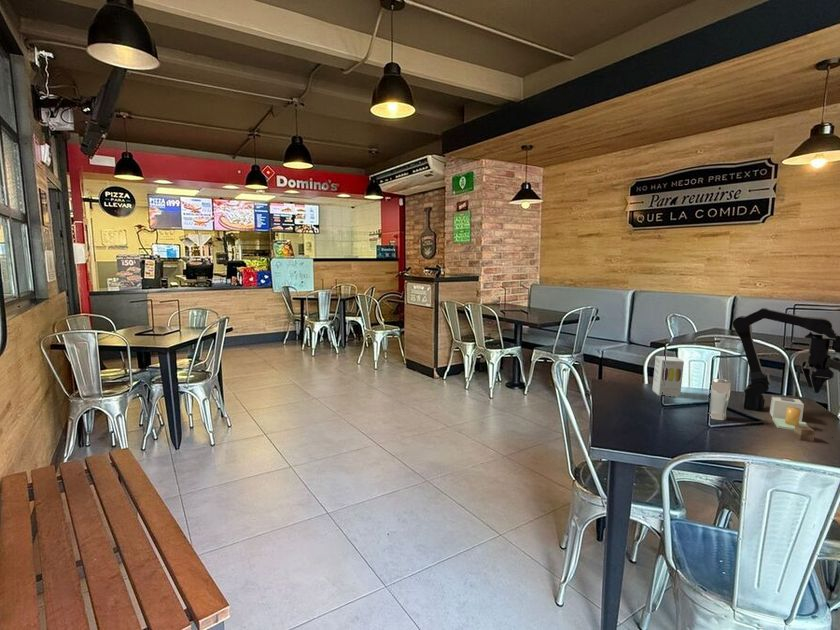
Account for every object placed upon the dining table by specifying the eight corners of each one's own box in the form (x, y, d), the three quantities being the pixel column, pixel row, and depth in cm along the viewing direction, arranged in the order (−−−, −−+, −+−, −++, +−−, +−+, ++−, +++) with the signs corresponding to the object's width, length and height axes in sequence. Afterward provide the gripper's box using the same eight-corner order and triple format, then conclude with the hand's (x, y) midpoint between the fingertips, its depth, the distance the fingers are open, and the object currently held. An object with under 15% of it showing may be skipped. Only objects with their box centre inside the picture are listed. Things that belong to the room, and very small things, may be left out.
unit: (772, 417, 181) (774, 399, 180) (769, 412, 187) (771, 394, 186) (802, 422, 176) (805, 403, 175) (798, 416, 182) (800, 398, 181)
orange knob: (785, 424, 171) (788, 409, 170) (784, 420, 175) (786, 406, 174) (799, 426, 169) (801, 411, 168) (797, 423, 173) (799, 408, 172)
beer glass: (725, 416, 182) (729, 379, 180) (729, 421, 175) (733, 384, 173) (705, 413, 185) (709, 377, 183) (708, 419, 178) (711, 381, 176)
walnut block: (800, 440, 159) (801, 429, 158) (793, 436, 163) (795, 425, 162) (813, 441, 158) (814, 430, 157) (806, 437, 162) (808, 426, 161)
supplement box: (658, 396, 207) (661, 359, 204) (651, 390, 216) (654, 355, 213) (681, 397, 205) (684, 360, 203) (673, 391, 214) (676, 356, 212)
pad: (777, 427, 170) (777, 425, 170) (772, 419, 179) (772, 417, 179) (811, 433, 165) (812, 431, 165) (804, 424, 174) (805, 422, 174)
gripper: (854, 357, 164) (848, 399, 166) (838, 348, 180) (832, 386, 182) (815, 354, 169) (809, 394, 171) (802, 345, 185) (797, 382, 188)
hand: (813, 389), depth 178 cm, fingers open, 9 cm apart
